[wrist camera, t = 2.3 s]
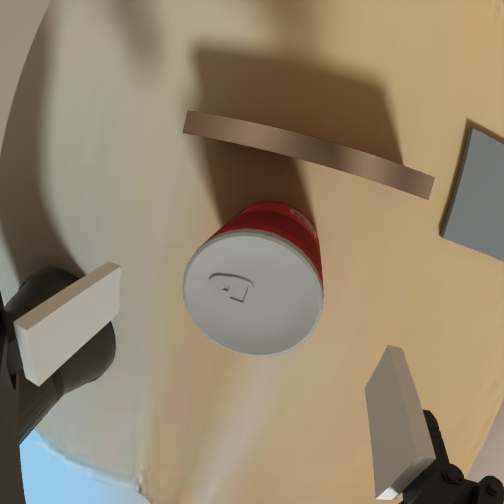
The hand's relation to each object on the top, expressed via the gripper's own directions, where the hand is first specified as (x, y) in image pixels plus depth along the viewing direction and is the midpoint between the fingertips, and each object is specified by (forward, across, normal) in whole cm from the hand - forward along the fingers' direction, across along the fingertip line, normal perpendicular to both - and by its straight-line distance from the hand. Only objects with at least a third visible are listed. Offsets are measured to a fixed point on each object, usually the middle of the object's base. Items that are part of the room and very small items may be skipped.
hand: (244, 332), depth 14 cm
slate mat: (+14, +20, +10) cm, 27 cm away
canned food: (+14, 0, 0) cm, 15 cm away
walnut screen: (+14, 0, +8) cm, 17 cm away
